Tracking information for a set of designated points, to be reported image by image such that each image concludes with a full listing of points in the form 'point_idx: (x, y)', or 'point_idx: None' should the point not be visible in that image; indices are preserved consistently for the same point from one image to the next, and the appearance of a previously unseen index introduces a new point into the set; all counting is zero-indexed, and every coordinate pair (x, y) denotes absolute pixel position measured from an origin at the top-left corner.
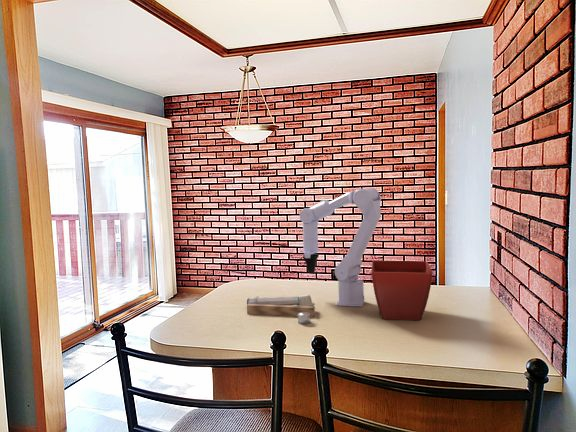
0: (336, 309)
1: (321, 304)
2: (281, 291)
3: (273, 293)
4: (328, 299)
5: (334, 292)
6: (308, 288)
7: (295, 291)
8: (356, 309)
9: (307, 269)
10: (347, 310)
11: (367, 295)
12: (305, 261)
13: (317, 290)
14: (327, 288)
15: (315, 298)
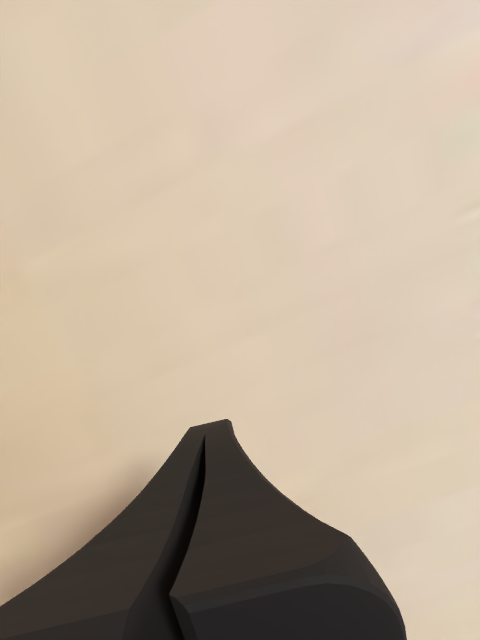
0: (56, 554)
1: (106, 457)
2: (308, 51)
3: (229, 9)
4: None
5: (380, 426)
6: (443, 228)
7: (339, 169)
8: None
9: (176, 447)
10: None
11: None
12: (74, 561)
13: (403, 311)
14: (467, 352)
15: (212, 377)
